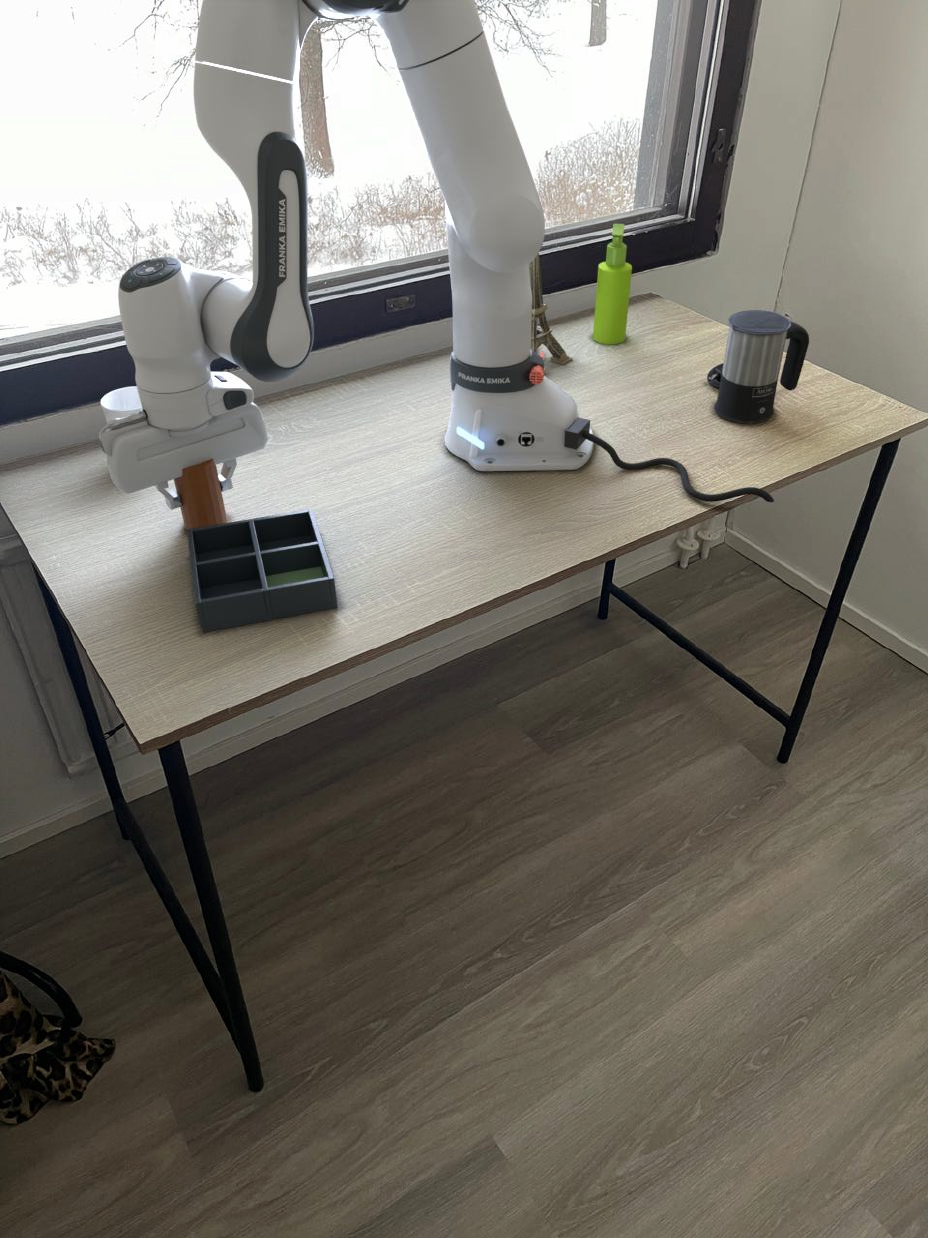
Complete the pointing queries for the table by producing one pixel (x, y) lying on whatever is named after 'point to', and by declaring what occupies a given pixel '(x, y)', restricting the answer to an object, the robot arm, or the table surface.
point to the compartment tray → (259, 570)
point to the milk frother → (757, 365)
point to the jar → (201, 496)
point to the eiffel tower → (542, 318)
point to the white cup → (121, 403)
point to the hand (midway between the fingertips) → (200, 497)
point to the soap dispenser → (612, 292)
